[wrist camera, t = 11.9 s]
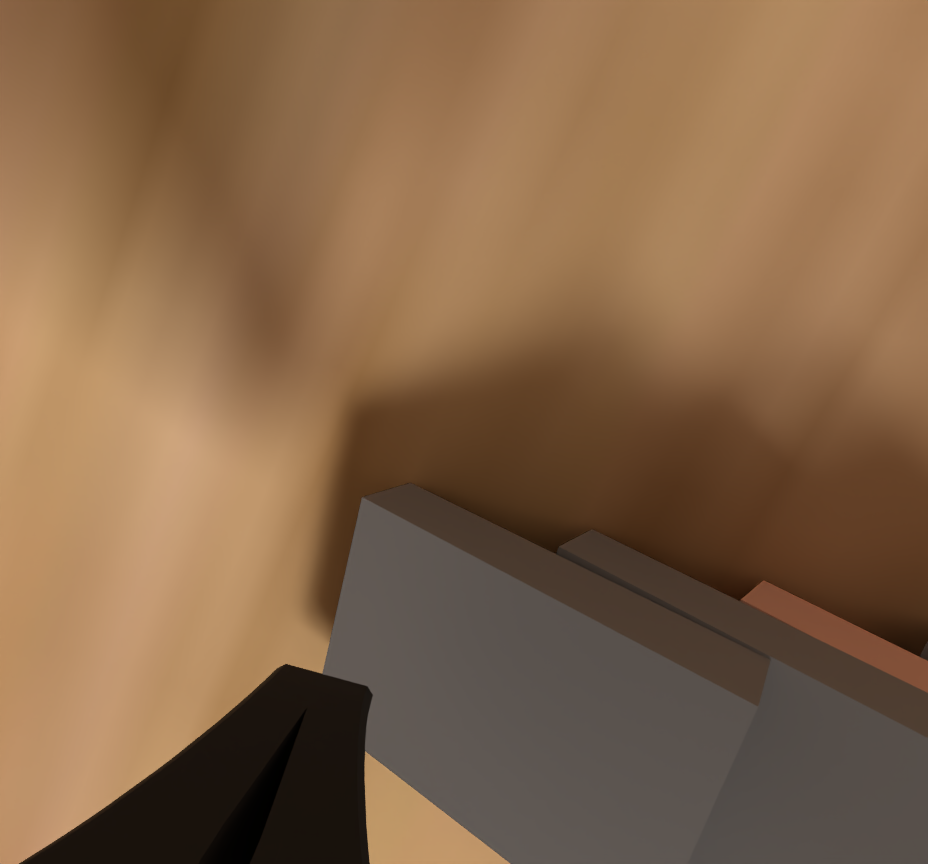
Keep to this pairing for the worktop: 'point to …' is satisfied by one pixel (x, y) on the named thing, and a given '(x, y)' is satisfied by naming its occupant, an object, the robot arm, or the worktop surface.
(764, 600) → the brick tile
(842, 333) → the worktop surface
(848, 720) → the charcoal tile
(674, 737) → the charcoal tile
